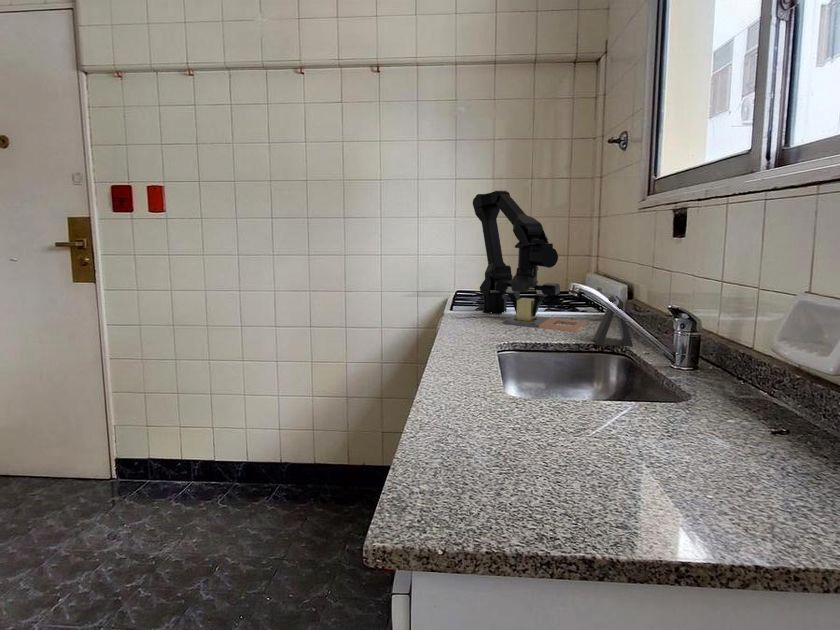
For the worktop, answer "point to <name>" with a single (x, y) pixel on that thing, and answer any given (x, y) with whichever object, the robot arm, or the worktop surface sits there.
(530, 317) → the wooden block
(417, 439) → the worktop surface
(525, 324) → the frame with rectangular openings
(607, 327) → the phone stand
